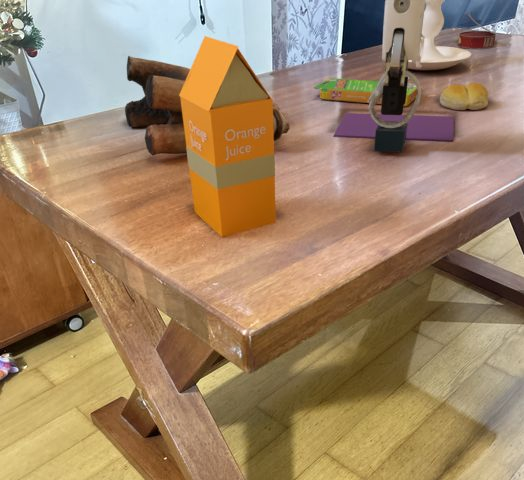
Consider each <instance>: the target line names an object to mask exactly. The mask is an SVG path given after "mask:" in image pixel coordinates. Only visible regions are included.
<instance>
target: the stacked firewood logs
mask: <svg viewBox="0 0 524 480" xmlns="http://www.w3.org/2000/svg"><path fill="white" fill-rule="evenodd" d="M126 60H127V61H126V80H127V81H128V82H133V83H135V84H137V85H138V86H140V87H141V88H142V91H143V94H144V96H143V97H142V98H140V99H138V100H131V101H129V102H127V103H126V105H125V107H124V114H125V118H126V119H125V120H126V122H127V126H129V127H130V128H135V127H146V129H145V134H144V141H145V146H146V150H147V152H148V153H149V154H150V155H151V156H157V155H160V154H168V155H169V154H170V155H178V154H187V150H186V139H185V131H184V123H183V115H182V107H181V99H180V96H179V94H180V92H181V90H182V88H183V85H184V83H185V81H186V78H187V76H188V74H189V71H190V69H191V68H189V67H186V66H182V65H177V64H171V63H167V62H163V61H159V60H152V59H145V58H140V57H133V56H130V55H127V59H126ZM273 131H274V142H275V141H278V140H280V139H281V137H282V136H283V134H288V132H289V131H290V122H289V121H288V120H286V118H285V117H284V115H283V113H282V112H281V107H280V106H279V105H278V104H277V103H275V102H273Z"/></svg>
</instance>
